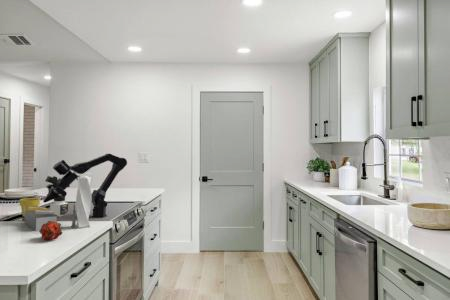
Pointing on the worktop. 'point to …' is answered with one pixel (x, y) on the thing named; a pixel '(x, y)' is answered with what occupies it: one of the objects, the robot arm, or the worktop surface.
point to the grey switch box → (38, 219)
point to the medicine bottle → (59, 206)
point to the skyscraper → (82, 203)
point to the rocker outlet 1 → (37, 208)
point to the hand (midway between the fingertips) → (43, 202)
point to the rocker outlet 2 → (44, 212)
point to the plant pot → (28, 204)
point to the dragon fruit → (51, 230)
